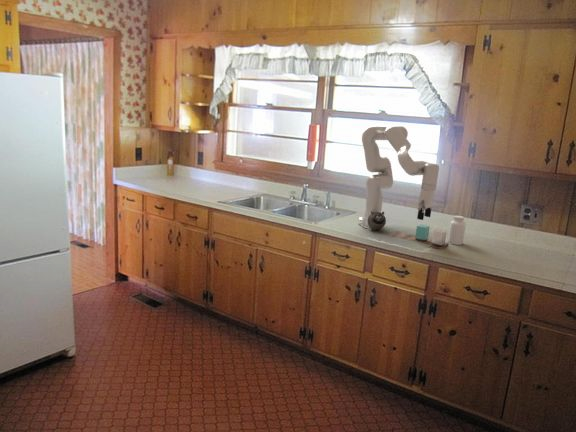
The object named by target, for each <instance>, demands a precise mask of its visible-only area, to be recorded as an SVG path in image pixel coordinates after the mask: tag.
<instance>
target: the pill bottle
mask: <svg viewBox="0 0 576 432" xmlns="http://www.w3.org/2000/svg"><path fill="white" fill-rule="evenodd" d="M464 221H465V217H464V216H462V215H454V216H453V220H451V221H450V224H449V229H448V236H447V242H448V244H452V245H456V246H458V245H459V246H462V245H463V244H464V239H465V237H464V236H465V233H466V232H465V231H466V222H464Z"/></svg>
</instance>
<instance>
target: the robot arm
mask: <svg viewBox="0 0 576 432" xmlns="http://www.w3.org/2000/svg"><path fill="white" fill-rule="evenodd" d="M408 134H409V133H408V130H407V128H405V127H404V126H403V125H380V124H379V125H378V124H376V125H375V124H372V125H368V126H367V127H366V128H365V129H364V130H363V132H362V135H361V142H362V146H363V147H362V148H363V150H364V159H365V164H366V169H367V172H370V173H376V174H372V175H370V176H368V178H367V179H366V185H365V186H366V199H365V209H364V217H358V222H361V224H360V226H361V227H362V228H364V229H369V228H370V229H372V228H371V227H370V226H369V225H368V217H369V216H370V214H371V211H372V212H380V213H382V210H383V209H382V208H383V200H384V199H383V198H384V197H383V192H382V191H385V190H387V191H388V190H389V189H391V188H392V186H393V184H394V177H393V170H392V164H391V161H390V159H389V158H388V157H387V156H385V155H380V149H379V145H378V144H377V142H376V141H387V142H389V144H390V146H392V147H393V149H394V151H395V153H396V154H397V160H398V163H399V165H400V166H401V169H403V171H404V172H405V173H406V174H407V175H409V176H412V177H413V176H414V177H415V176H422V180H421V186H420V193H419V197H418V202H417V211H418V212H417V217H416V220H420V221H423V220H424V218H425V217H427V218H431V215H432V208H433V204H434V198H435V192H436V190H437V184H438V179H439V171H440V166H439V164H436V163H430V162H428V161H424V160H416V161H415V160H413V159H412V157H411V156H410V154H409V150H410V149H411V146H412V143H410V142H409V140H408V139H407V138H408Z"/></svg>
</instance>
